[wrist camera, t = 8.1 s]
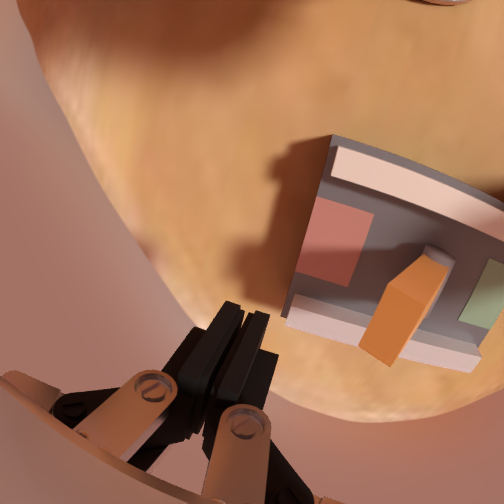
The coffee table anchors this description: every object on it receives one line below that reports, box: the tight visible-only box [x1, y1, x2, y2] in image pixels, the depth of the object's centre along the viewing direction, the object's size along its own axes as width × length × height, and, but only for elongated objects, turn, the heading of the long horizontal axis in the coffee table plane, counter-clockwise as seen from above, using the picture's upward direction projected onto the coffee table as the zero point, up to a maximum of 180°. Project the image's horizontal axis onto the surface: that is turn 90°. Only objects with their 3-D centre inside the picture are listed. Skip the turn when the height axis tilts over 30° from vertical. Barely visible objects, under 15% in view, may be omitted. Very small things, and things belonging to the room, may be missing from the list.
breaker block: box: [281, 134, 504, 373], centre depth 20 cm, size 14×18×5 cm
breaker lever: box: [358, 244, 456, 367], centre depth 15 cm, size 4×2×9 cm, turn 168°
